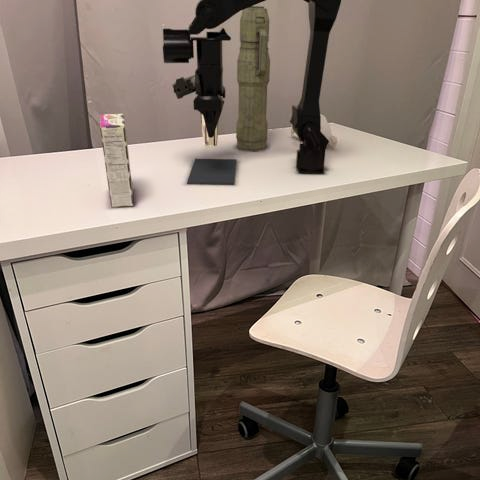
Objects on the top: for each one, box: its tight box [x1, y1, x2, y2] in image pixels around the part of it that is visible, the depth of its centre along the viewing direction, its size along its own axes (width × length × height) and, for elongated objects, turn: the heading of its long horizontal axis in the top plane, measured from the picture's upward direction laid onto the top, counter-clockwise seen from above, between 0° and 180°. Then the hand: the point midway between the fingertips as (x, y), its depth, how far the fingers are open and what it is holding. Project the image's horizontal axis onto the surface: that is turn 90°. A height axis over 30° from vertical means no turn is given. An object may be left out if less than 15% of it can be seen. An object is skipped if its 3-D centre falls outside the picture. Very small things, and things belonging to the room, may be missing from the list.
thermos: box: [235, 5, 271, 152], centre depth 141 cm, size 9×12×35 cm
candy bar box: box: [99, 113, 135, 209], centre depth 107 cm, size 11×5×16 cm, turn 12°
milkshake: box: [199, 112, 219, 148], centre depth 124 cm, size 4×5×10 cm
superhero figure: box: [290, 113, 338, 148], centre depth 153 cm, size 10×9×20 cm
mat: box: [186, 158, 237, 186], centre depth 129 cm, size 11×20×1 cm, turn 179°
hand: (211, 135), depth 125 cm, fingers closed on milkshake, 4 cm apart
